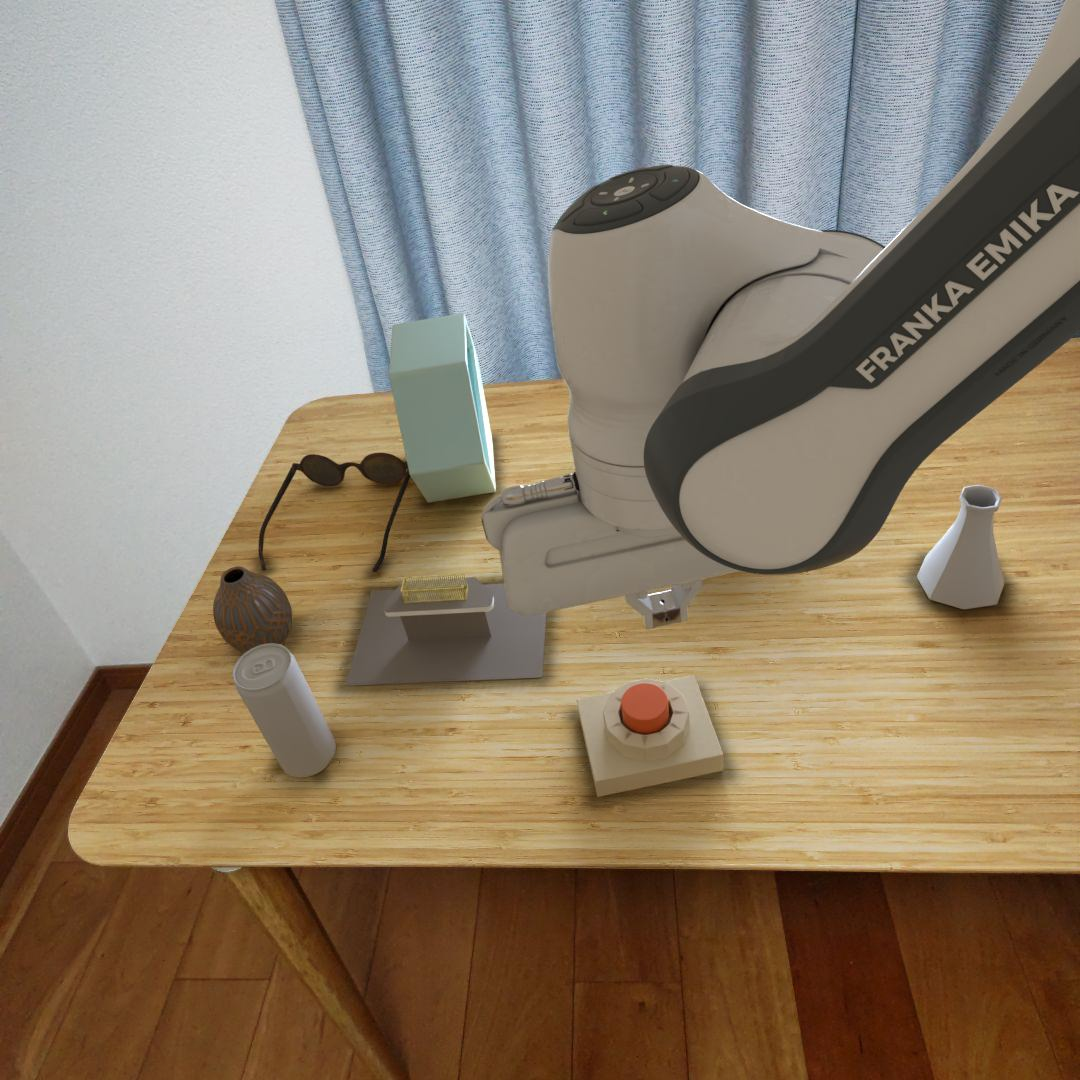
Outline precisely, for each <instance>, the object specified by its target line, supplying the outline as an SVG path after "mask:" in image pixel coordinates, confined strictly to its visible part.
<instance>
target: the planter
mask: <svg viewBox="0 0 1080 1080" xmlns="http://www.w3.org/2000/svg"><path fill="white" fill-rule="evenodd" d="M479 363H480V362H479V357H478V353H477V349H476V347H475V343H474V340H473V336H472V333H471V330H470V327H469V323H468V319H467V316H466V314H465V312H461V313H455V314H454V313H453V314H449V315H443V316H437V317H431V318H425V319H419V320H412V321H407V322H401V323H395V324H392V328H391V342H390V354H389V366H388V379H389V383H390V388H391V393H392V398H393V403H394V406H395V407H394V408H395V412H396V416H397V422H398V426H399V431H400V435H401V436H400V437H401V440H402V446H403V450H404V455H405V459H406V461H407V464H408V469H409V474H410V476H411V478H410V479H412V481H413V482H414V484H415V485H416V487H417V488H418V490H419V492H420V493H421V495H422V496H423V498H424V499H425V501H426V502H427V503H435V502H436V503H437V502H441V501H448V500H454V499H455V500H456V499H460V498H467V497H472V496H480V495H484V494H491V493H496V492H497V486H496V485H497V484H496V473H495V472H496V471H495V457H494V446H493V445H494V444H493V436H492V430H491V424H490V419H489V414H488V409H487V408H488V407H487V402H486V396H485V391H484V386H483V379H482V375H481V369H480V364H479ZM408 469H407V470H408Z"/></svg>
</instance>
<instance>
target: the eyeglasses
mask: <svg viewBox="0 0 1080 1080" xmlns="http://www.w3.org/2000/svg"><path fill="white" fill-rule="evenodd" d="M299 462H300V463H297V462H293V463H292V464H291V467H290V469H289V471H288V472H287V474H286V476H285V478H284V480H283V482H282V484H281V486H280V488H279V490H278V492H277V494H276V496H275V498H274V499H273V501H272V503H271V505H270V508H269V510H268V512H267V514H266V516H265V517H264V519H263V522H262V524H261V526H260V530H259V536H258V547H257V548H258V550H257V551H258V553H257V554H258V558H259V562H260V567H261V570H262V571H266V570H267V568H266V567H267V566H266V562H265V557H264V546H265V545H264V544H265V543H264V542H265V533H266V531H267V530H266V529H267V527H268V525H269V522H270V521H271V519H272V517H273V515H274V513H275V511H276V509H277V508H278V506H279V504H280V501H281V500H282V498H283V497H284V495H285V493H286V491H287V489H288V487H289V486H290V484H291V482H292V481H293V478H294V476H295V474H296V473H297V471H299V472H301V473H302V474H303V475H304V476H305V477H306V478H307V479H309V480H310V481H311V482H313V483H315V484H317V485H320V486H324V487H336V486H338V485H340V484H342V483H343V481H344V479H345V477H346V476H345V475H346V470H347V469H348V468H350V467H354V468H356V469H357V470H358V471H359V472H360V474H361V475H362V476H363V477H364V479H367V480H369V481H370V482H372V483H376V484H379V485H393V484H397V483H399V482H401V481H402V483H401V484H400V488H399V490H398V493H397V496H396V499H395V502H394V504H393V507H392V510H391V512H390V516H389V518H388V521H387V524H386V527H385V530H384V533H383V538H382V543H381V549H380V552H379V557H378V559H377V560H376V562H375V564H374V565H373V567H372V569H371V571H372V572H373V573H378V571H379V569H380V568H381V566H382V564H383V562H384V560H385V557H386V553H387V549H388V542H389V537H390V532H391V529H392V526H393V524H394V520H395V519H396V516H397V513H398V510H399V508H400V505H401V502H402V500H403V497H404V495H405V492H406V490H407V487H408V485H409V482H410V480H411V479H412V478H411V476H410V474H409V469H408V464H407V460H406V461H404V460H402V459H401V458H399V457H398V456H397V455H394V454H391V453H387V452H373V453H369V454H367V455H366V456H364V458H363V459H362V460H361V461H360V463H358V462H353V461H349V462H343V463H337V462H336V461H334V460H332V459H330V458H329V457H327V456H324V455H321V454H315V453H312V454H311V453H310V454H306V455H305V456H303V457H302V458H301V459H300V461H299Z"/></svg>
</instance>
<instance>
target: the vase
mask: <svg viewBox="0 0 1080 1080" xmlns="http://www.w3.org/2000/svg"><path fill="white" fill-rule="evenodd" d="M219 581H220V582H219V587H218V589H217V590H216V593H215V596H214V598H213V599H214V600H213V604H212V616H213V620H214V624H215V627H216V630H217V631H218V633H219V635H220V636H221V638H222V639H223V641H224V642H226V644H228V645H229V646H230V647H231V648H233V649H234V650H235V651H237V652H239V653H242V654H244V653H246V652H247V651H249V650H250V649H252V648H254V647H256V646H259V645H263V644H269V643H275V644H280V645H282V644H283V643H285V641H286V640H287V638H288V637H289V635H290V632H291V630H292V629H293V628H292V627H293V608H292V605H291V603H290V600H289V597H288V595H287V594H286V592H285V591H284V589H283V588H282V587H281V586H280V585H279V584H278V583H277V582H276V581H275V580H273V579H272V578H271V577H269V576H267V575H265V574H261V573H258V572H254V571H250V570H248V569H247V568H245V567H243V566H241V565H240V566H239V565H237V566H232V567H230V568H228V569H226V570H225V571H224V572H223V573H222V574H221V575H220V580H219Z"/></svg>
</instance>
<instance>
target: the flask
mask: <svg viewBox="0 0 1080 1080" xmlns="http://www.w3.org/2000/svg"><path fill="white" fill-rule="evenodd" d="M1002 500H1003V497H1002V496H1001V495H1000V493H999V491H998V490H997V489H996V488H995V487H992V486H991V487H990V486H986V485H983V484H982V485H981V484H974V485H969V486H967V485H966V486H964V487H962V490H961V492H960V494H959V497H958V501H959V502H960V505H961V506H960V509H959V513H958V515H957V517H956V519H955V521H954V522H953V523H952V525H951V526H950V527H949V528H948V529H947V531H946V532H945V533H944V535H943V536H942V537H941V538H940V539H939V541H937V542H936V544H935V545H934V546H933V547H932V548H931V550H930V551H929V552H928V553H927V555H925V557H924V560H923V561H922V564H921V566H920V568H919V570H918V573H917V575H916V578H917V580H918V582H919V583H920V585H921V588H922V589H923V590H924V592H925V594H926V596H927V598H928V599H929V600H931V601H934V602H937V603H940V604H944V605H947V606H951V607H954V608H958V609H961V610H970V609H975V608H983V607H989V606H996V605H998V603H999V601H1000V597H1001V594H1002V592H1003V589H1004V585H1005V578H1004V573H1003V570H1002V566H1001V561H1000V558H999V555H998V554H999V553H998V550H997V544H996V539H995V535H994V516H995V513H996V512H998V510H999V508H1000V506H1001V504H1002Z"/></svg>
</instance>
